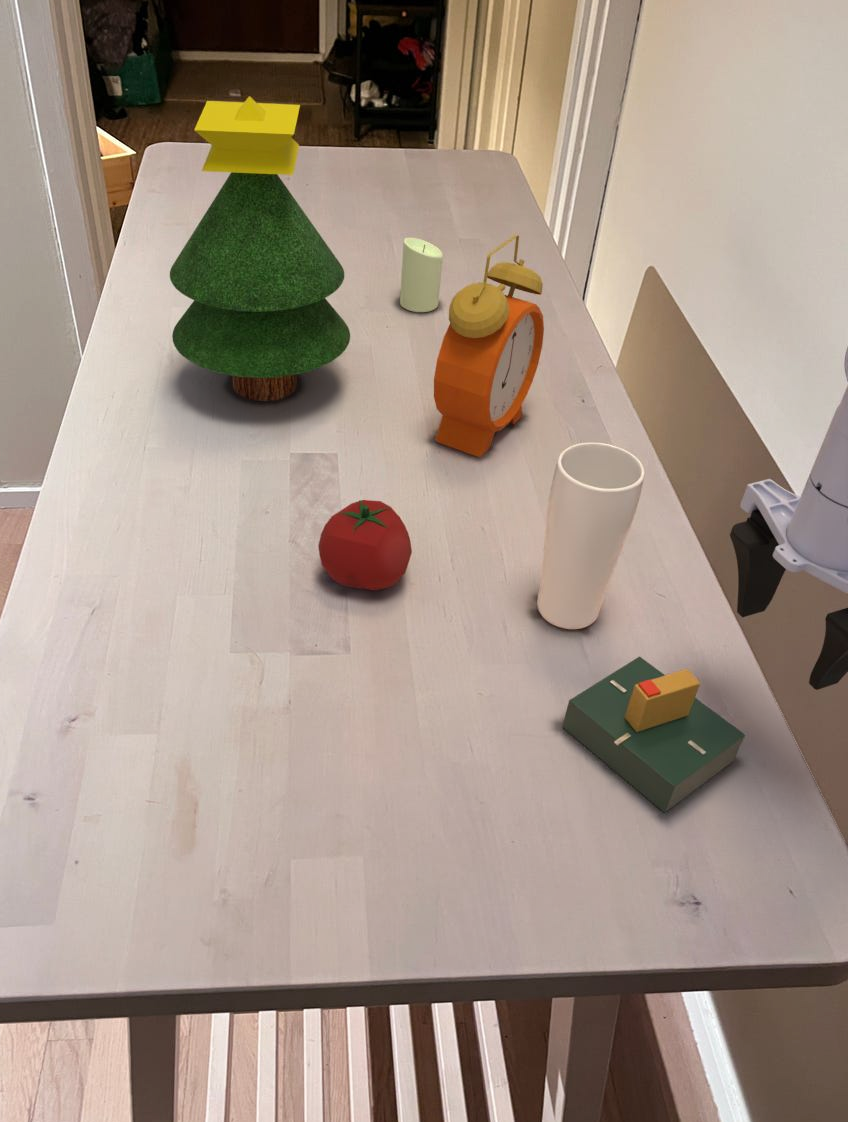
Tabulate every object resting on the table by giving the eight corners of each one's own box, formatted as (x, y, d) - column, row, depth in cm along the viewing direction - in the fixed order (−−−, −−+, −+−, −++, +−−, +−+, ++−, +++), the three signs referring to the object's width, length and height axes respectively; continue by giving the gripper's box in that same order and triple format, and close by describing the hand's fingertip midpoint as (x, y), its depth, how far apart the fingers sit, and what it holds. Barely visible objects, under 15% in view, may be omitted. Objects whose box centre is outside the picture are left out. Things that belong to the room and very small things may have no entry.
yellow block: (675, 701, 74) (688, 665, 72) (688, 716, 73) (702, 680, 71) (623, 717, 73) (635, 682, 70) (636, 733, 72) (648, 697, 69)
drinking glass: (511, 604, 86) (538, 458, 76) (566, 576, 89) (599, 431, 79) (567, 649, 82) (603, 501, 72) (622, 618, 85) (665, 472, 75)
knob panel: (737, 758, 74) (749, 730, 72) (660, 816, 70) (671, 788, 68) (634, 680, 80) (643, 652, 78) (558, 729, 76) (565, 701, 74)
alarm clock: (478, 466, 102) (503, 276, 88) (425, 447, 104) (442, 259, 90) (533, 411, 110) (564, 230, 96) (484, 395, 112) (507, 216, 99)
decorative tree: (350, 347, 119) (358, 69, 99) (346, 433, 105) (354, 130, 85) (190, 341, 119) (165, 61, 99) (164, 426, 105) (128, 120, 85)
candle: (434, 295, 131) (440, 233, 125) (441, 312, 127) (447, 249, 122) (397, 296, 130) (401, 233, 125) (402, 313, 127) (406, 249, 121)
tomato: (306, 587, 87) (305, 520, 82) (345, 536, 92) (346, 471, 87) (390, 614, 85) (394, 548, 80) (424, 561, 90) (431, 496, 85)
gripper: (730, 436, 64) (677, 594, 73) (897, 572, 54) (812, 735, 64) (815, 417, 66) (753, 573, 75) (991, 544, 57) (895, 706, 66)
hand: (785, 645), depth 70 cm, fingers open, 7 cm apart
